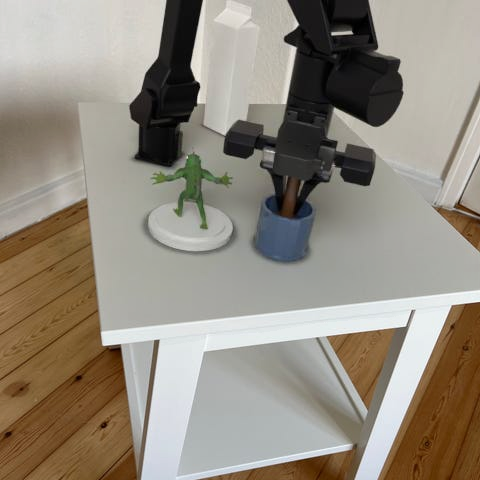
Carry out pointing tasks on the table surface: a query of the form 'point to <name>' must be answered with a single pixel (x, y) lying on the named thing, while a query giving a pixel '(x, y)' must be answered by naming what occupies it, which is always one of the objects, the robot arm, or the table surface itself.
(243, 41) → the milk
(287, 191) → the wooden peg on base
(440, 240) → the table surface
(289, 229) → the blue plastic cup
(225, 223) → the green frog figurine
